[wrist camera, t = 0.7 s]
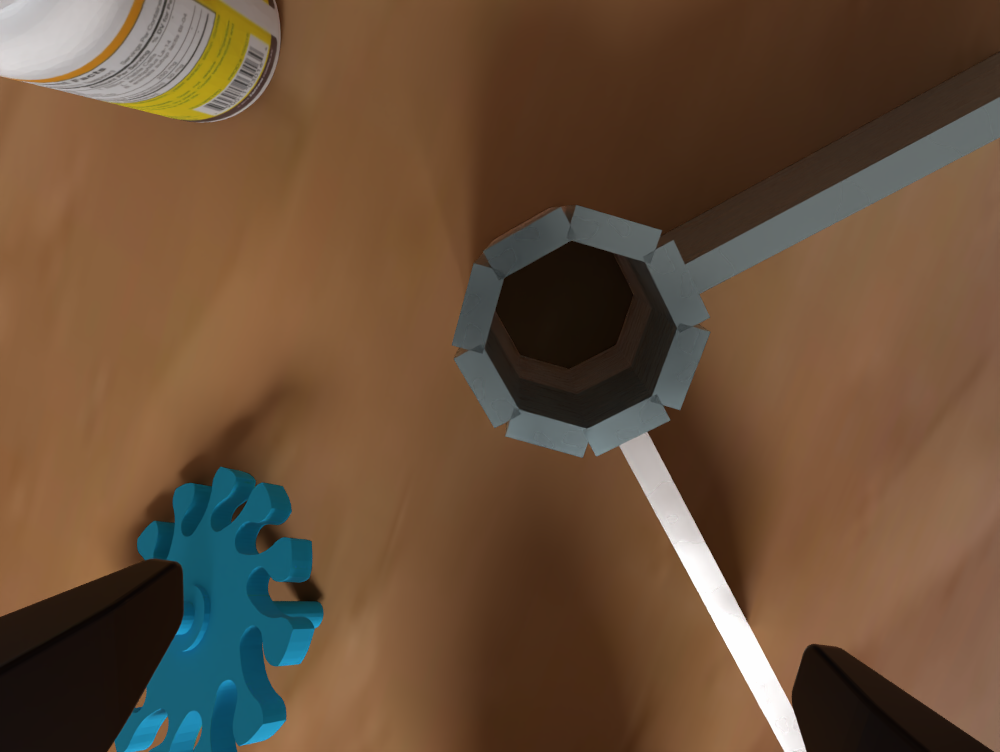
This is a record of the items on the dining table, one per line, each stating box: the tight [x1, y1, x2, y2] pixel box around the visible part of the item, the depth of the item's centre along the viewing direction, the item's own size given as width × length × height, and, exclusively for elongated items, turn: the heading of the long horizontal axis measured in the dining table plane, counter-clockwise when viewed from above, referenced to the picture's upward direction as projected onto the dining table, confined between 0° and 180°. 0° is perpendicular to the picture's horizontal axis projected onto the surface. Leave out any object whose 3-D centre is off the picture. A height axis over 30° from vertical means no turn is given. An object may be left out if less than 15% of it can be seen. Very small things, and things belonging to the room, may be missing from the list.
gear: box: [115, 467, 323, 752], centre depth 22 cm, size 11×6×10 cm
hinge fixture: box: [452, 52, 1000, 752], centre depth 18 cm, size 18×18×6 cm
